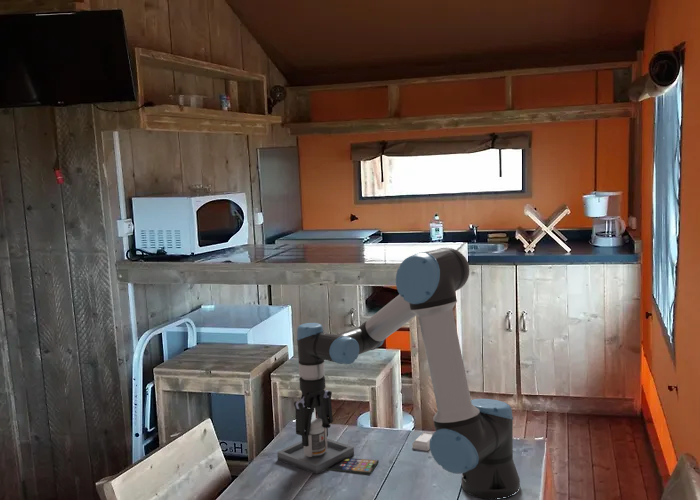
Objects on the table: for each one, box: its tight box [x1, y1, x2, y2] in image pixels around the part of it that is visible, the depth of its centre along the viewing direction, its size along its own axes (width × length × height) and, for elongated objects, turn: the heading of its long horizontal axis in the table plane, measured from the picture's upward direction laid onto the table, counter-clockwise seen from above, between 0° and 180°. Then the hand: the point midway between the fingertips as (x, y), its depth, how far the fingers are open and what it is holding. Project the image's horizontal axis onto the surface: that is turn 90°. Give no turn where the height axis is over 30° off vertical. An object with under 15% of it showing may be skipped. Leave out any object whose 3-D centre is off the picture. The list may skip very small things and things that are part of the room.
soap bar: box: [411, 431, 434, 452], centre depth 212 cm, size 5×9×3 cm, turn 152°
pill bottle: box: [309, 417, 325, 456], centre depth 205 cm, size 6×6×10 cm
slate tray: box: [276, 438, 355, 475], centre depth 206 cm, size 16×16×2 cm
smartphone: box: [325, 457, 379, 476], centre depth 199 cm, size 8×15×1 cm, turn 72°
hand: (315, 451), depth 205 cm, fingers closed on pill bottle, 6 cm apart
